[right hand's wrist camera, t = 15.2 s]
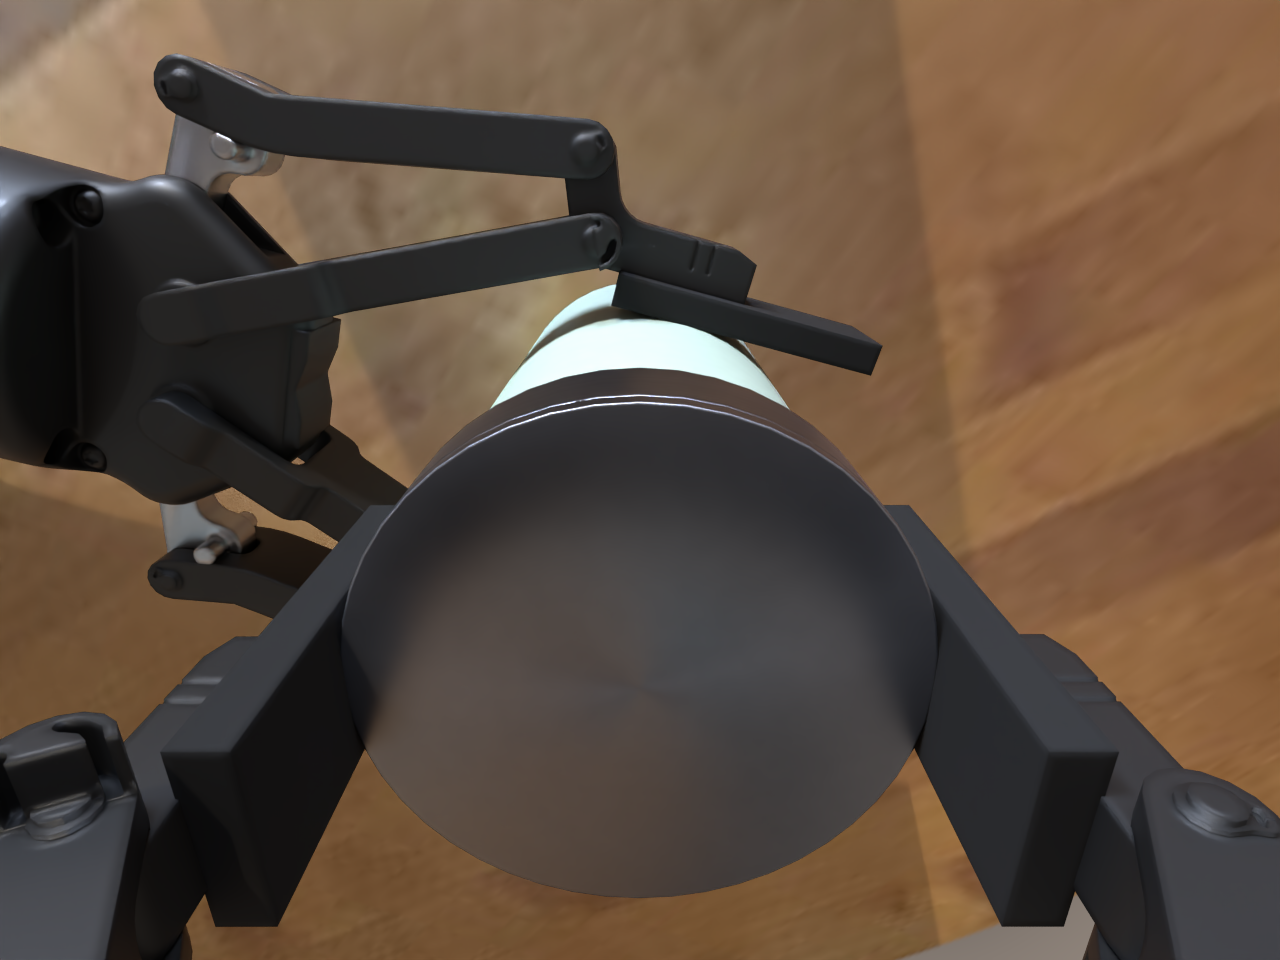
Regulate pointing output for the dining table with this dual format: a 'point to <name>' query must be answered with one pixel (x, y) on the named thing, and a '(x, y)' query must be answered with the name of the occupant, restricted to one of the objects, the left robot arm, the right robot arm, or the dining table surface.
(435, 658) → the lid
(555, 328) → the jar
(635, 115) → the dining table surface
